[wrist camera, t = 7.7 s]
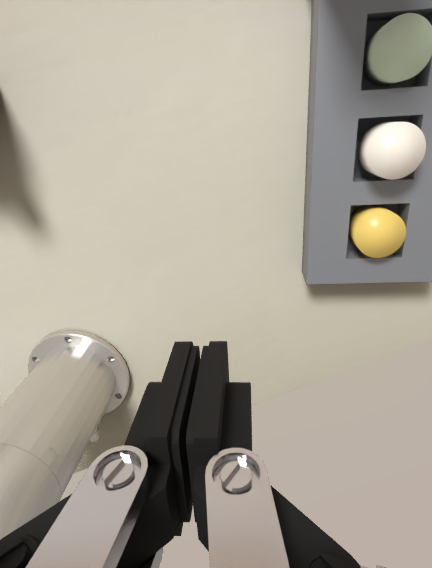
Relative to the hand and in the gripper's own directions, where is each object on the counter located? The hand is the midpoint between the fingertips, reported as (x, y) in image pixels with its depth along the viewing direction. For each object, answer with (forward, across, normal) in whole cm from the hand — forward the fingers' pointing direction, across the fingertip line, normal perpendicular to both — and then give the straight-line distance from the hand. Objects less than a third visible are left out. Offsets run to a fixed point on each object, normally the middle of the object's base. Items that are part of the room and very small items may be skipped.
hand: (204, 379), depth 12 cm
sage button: (+26, -13, -12) cm, 31 cm away
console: (+27, -13, -5) cm, 30 cm away
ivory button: (+25, -13, -5) cm, 28 cm away
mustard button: (+26, -13, +2) cm, 29 cm away
